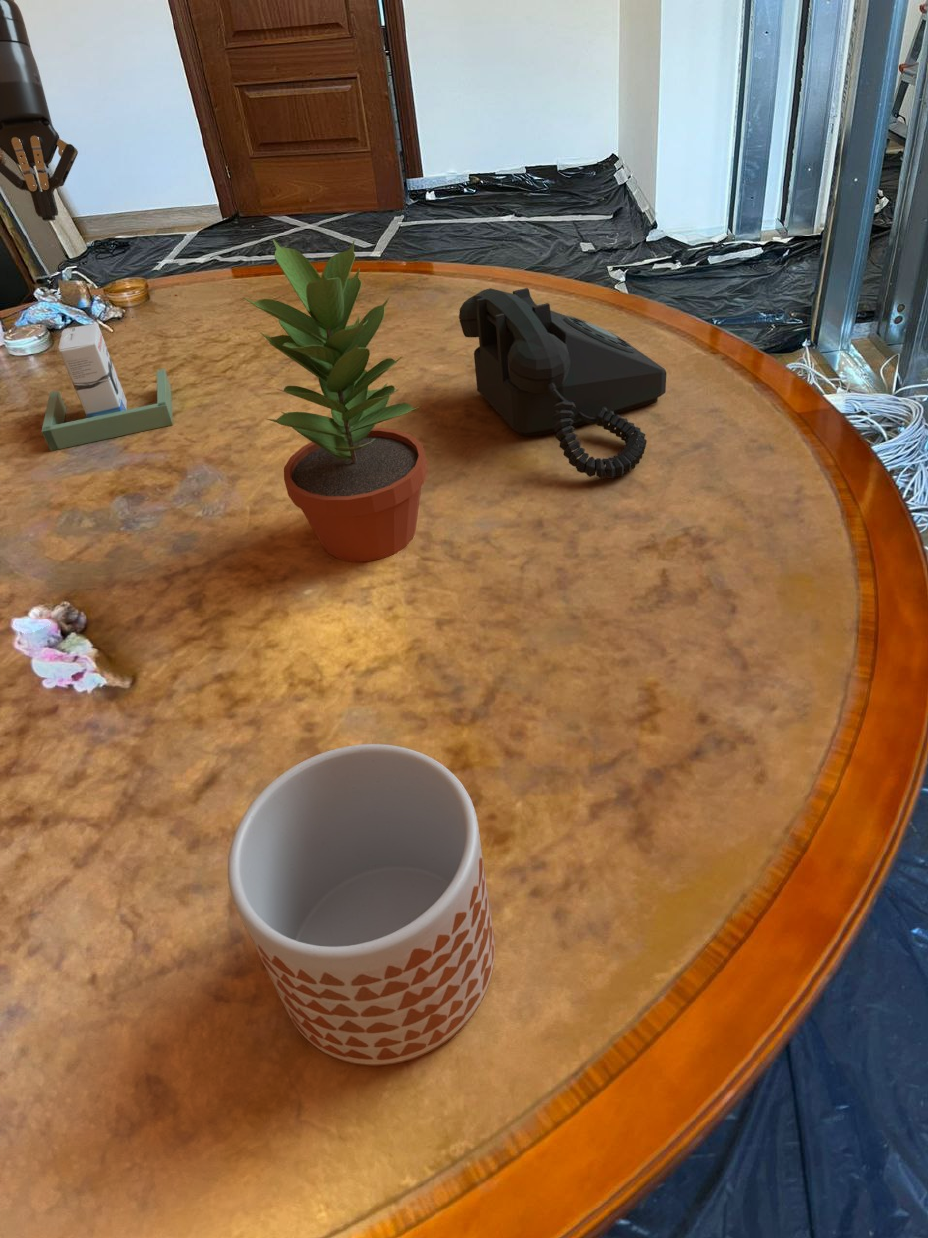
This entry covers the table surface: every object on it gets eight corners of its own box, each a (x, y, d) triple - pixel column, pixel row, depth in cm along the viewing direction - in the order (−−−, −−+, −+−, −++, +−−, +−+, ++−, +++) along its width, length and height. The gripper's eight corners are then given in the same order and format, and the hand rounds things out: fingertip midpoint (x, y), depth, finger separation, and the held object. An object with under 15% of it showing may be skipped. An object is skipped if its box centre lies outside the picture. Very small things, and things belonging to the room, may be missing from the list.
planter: (293, 874, 60) (245, 754, 52) (487, 854, 59) (470, 730, 51) (269, 1081, 49) (204, 970, 41) (505, 1057, 49) (487, 941, 41)
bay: (58, 411, 125) (49, 391, 123) (171, 387, 127) (164, 368, 126) (50, 451, 115) (41, 431, 113) (173, 424, 118) (166, 404, 116)
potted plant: (415, 582, 84) (363, 272, 65) (279, 567, 89) (192, 271, 70) (460, 501, 95) (426, 214, 76) (336, 491, 99) (274, 217, 80)
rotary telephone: (732, 449, 98) (747, 320, 88) (560, 498, 93) (556, 368, 84) (599, 349, 123) (599, 240, 113) (458, 385, 118) (446, 274, 109)
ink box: (127, 424, 119) (95, 342, 112) (91, 432, 118) (56, 350, 111) (128, 400, 125) (98, 320, 118) (94, 407, 125) (62, 328, 117)
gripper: (68, 88, 125) (99, 218, 131) (-28, 96, 123) (8, 227, 129) (57, 74, 118) (90, 212, 124) (-45, 82, 116) (-6, 221, 122)
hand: (49, 219), depth 127 cm, fingers closed
